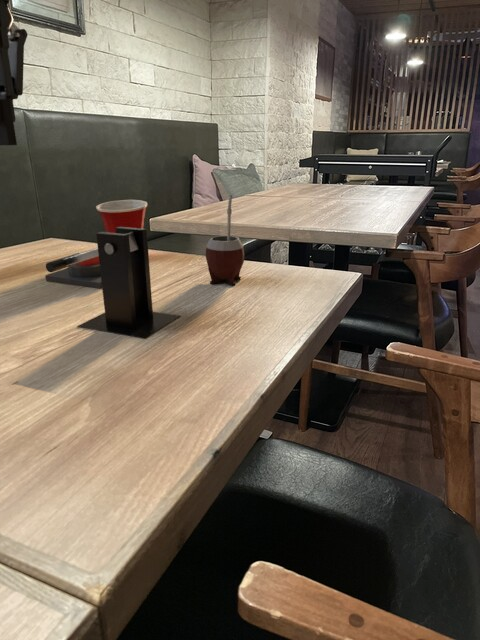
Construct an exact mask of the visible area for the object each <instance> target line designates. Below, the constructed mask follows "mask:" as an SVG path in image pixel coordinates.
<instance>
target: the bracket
mask: <svg viewBox="0 0 480 640" xmlns="http://www.w3.org/2000/svg"><path fill="white" fill-rule="evenodd" d="M115 229H116V233H109V232H106V231H99V232H96V233H95V235H96V245H97V249H98V254H99V263H100V272H101V281H102V288H101V289H102V299H103V306H104V307H103V308H104V312H102V313H101V314H99V315H96V316H95V317H93V318H91V319H89V320H87V321H85V322H83V323H81V324H79V325H77V326H76V327H77V328H82V329H86V330H92V331H97V332H103V333H108V334H115V335H119V336H120V335H121V336H126V337H130V338H137V339H142V340H147V339H148V338H149V337H151V336H152V335H153V334H156V333H158V332H159V331H160V330H162V329H163V328H165V327H166V326H168V325H170V324H171V323H173V322H174V321H176V320H177V319H179V318H180V317H181V315H177V314H170V313H164V312H157V311H153V297H152V285H151V271H150V270H151V269H150V257H149V243H148V231H147V228H143V229H142V228H129V227H117V228H115ZM130 232H133V234H134V237H135V239H136V242H137V245H138V248H139V249H138V250H135V251H132V252H130V243H129V234H127V233H130Z"/></svg>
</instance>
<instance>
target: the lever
mask: <svg viewBox="0 0 480 640" xmlns="http://www.w3.org/2000/svg"><path fill="white" fill-rule="evenodd" d="M127 234H129V243H130V252H132V251H135V250H138V249H139V248H138V245H137V242H136V239H135V237H134V234H133V232H130V233H127ZM81 253H82V254H81ZM81 253H73V254H71V255H67V256H63V257H61V258H57V259H55V260H51V261H48V262H46V264H45V270H46V271H47V272H48V273H54V272H57V271H60V270H63V269H66V268H68V267H69V266H72V265H75V264H78V263H81V262H82V261H84V260H87V259H91V258H94V257H97V256H99V254H98V248H95V249H92V250H88V251H85V252H81Z"/></svg>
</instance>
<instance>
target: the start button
mask: <svg viewBox="0 0 480 640" xmlns="http://www.w3.org/2000/svg"><path fill="white" fill-rule="evenodd" d="M82 253H83V252H81V253H80V254H82ZM98 264H100V263H99V256H97V257H94V258H91V259H87V260H84V261H82V262H81V263H78V264H77V265H79V266H92V265H98Z"/></svg>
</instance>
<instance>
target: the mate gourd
mask: <svg viewBox="0 0 480 640" xmlns="http://www.w3.org/2000/svg"><path fill="white" fill-rule="evenodd" d="M232 201H233V195H232V194H230V195H228V203H227V209H226V212H227V213H226V215H227V229H226V233H227V234H226V235H218V236H213V237H211V238H210V239H209V240H208V242H207V243H206V248H205V260H206V264H207V268H208V273H209V276H210V281H209V284H210V285H217V284H222V283H223V284H227V285H229V286H231V287H234V286H236V282H235V281H241V280H242V279H241V278H242V277H241V276H240V273H241V270H242V268H243V265H244V263H245V256H246V254H245V248H244V244H243V241H242V240H241V239H240V237H237V236H233V235H231V225H232V224H231V221H232V211H233V210H232Z"/></svg>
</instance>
